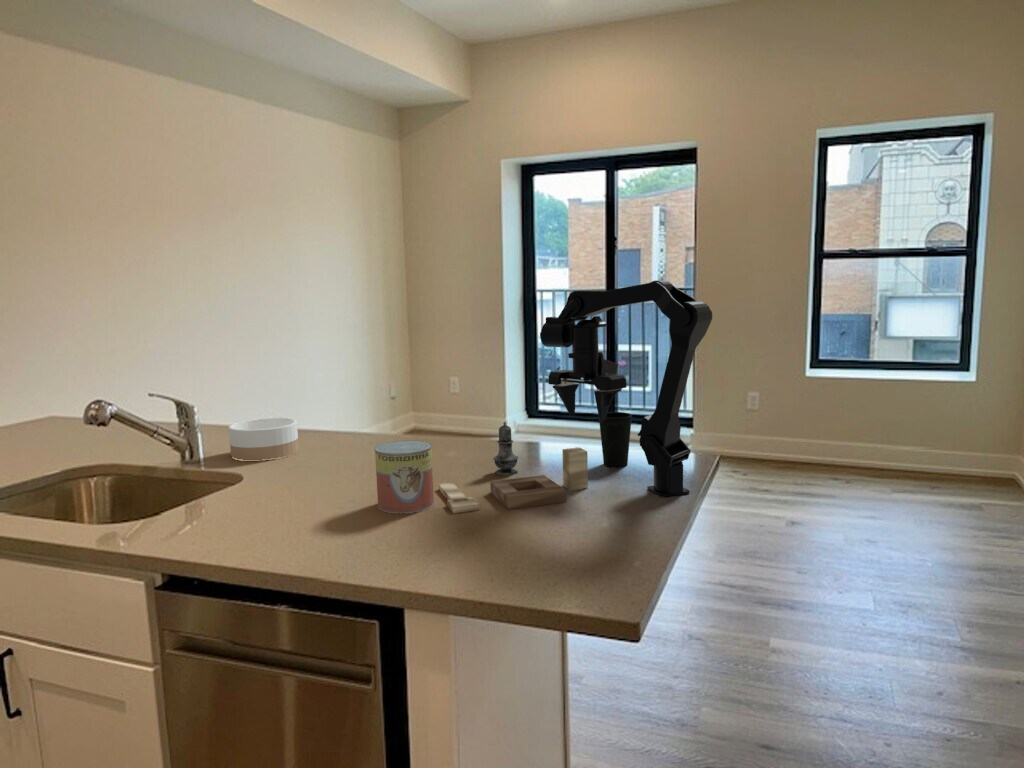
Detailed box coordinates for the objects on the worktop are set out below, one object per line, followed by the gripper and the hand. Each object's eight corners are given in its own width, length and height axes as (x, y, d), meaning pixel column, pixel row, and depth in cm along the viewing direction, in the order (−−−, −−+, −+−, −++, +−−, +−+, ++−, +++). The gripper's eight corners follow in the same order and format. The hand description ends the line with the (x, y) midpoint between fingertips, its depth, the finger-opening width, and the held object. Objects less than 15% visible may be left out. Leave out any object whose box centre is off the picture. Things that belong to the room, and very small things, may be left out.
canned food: (380, 516, 138) (377, 455, 137) (375, 500, 149) (372, 443, 147) (438, 510, 141) (436, 450, 140) (429, 494, 152) (427, 438, 150)
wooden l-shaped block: (478, 509, 141) (478, 504, 140) (453, 513, 139) (453, 507, 139) (456, 487, 157) (456, 481, 156) (434, 489, 155) (434, 484, 155)
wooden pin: (587, 488, 153) (587, 451, 152) (570, 490, 152) (569, 453, 151) (580, 483, 157) (579, 447, 156) (563, 485, 156) (562, 449, 155)
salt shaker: (516, 476, 164) (514, 424, 162) (490, 475, 165) (489, 424, 163) (521, 469, 170) (519, 419, 168) (496, 469, 171) (495, 419, 169)
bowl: (216, 460, 188) (213, 429, 186) (257, 446, 204) (255, 416, 203) (273, 463, 183) (271, 431, 181) (311, 448, 199) (309, 418, 198)
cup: (631, 460, 175) (630, 411, 173) (633, 468, 167) (632, 417, 166) (598, 460, 176) (598, 412, 174) (599, 468, 168) (599, 418, 167)
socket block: (565, 501, 144) (565, 489, 144) (508, 509, 140) (508, 496, 140) (544, 486, 155) (543, 474, 155) (490, 492, 152) (490, 481, 151)
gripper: (642, 346, 156) (643, 418, 158) (580, 343, 170) (582, 409, 172) (607, 351, 149) (609, 425, 151) (545, 347, 163) (548, 415, 165)
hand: (587, 418), depth 160 cm, fingers open, 9 cm apart
